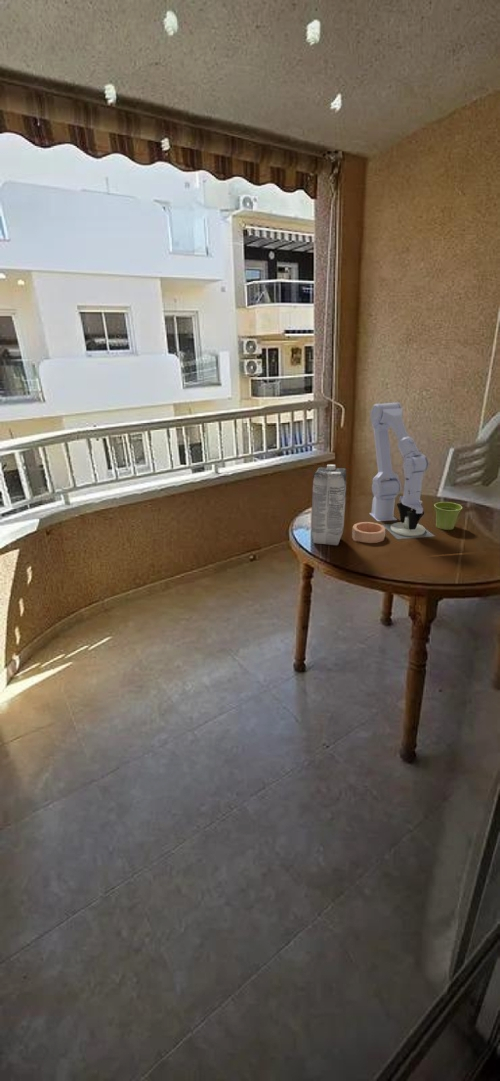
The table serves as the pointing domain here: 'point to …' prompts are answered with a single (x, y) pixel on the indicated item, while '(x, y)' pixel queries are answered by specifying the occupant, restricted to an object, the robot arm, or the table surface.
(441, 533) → the table surface
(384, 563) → the table surface
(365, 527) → the bowl
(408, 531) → the lid
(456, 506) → the plant pot
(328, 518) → the juice carton
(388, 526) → the mat
